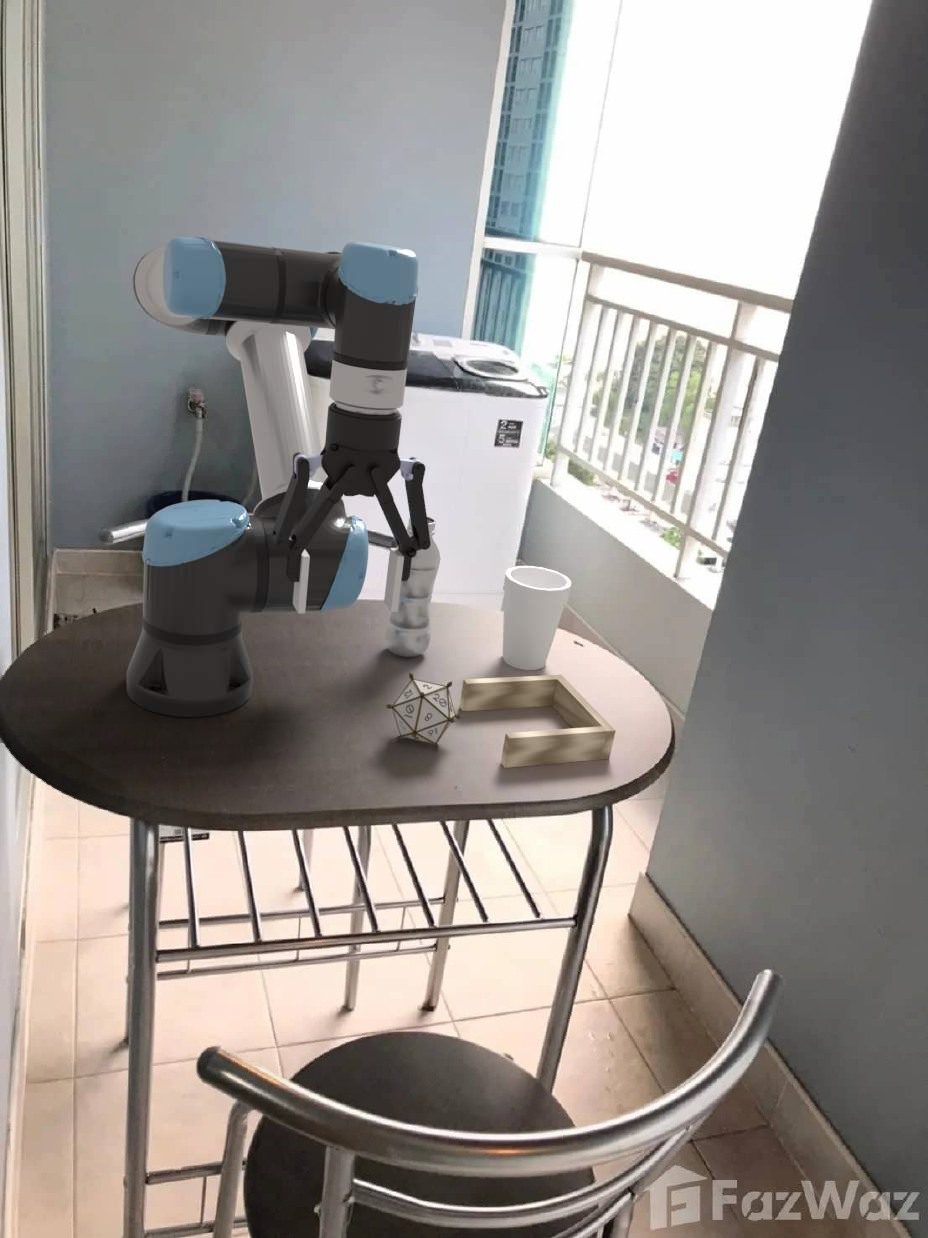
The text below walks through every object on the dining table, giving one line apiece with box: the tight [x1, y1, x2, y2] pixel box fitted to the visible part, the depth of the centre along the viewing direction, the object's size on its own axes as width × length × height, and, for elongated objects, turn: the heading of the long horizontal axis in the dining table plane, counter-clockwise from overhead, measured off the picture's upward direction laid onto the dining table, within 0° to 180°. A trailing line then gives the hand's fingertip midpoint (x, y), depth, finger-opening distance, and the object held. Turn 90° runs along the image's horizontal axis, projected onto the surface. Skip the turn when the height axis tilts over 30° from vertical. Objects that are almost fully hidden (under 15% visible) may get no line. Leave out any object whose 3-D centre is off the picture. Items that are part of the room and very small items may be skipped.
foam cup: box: [502, 565, 572, 671], centre depth 145 cm, size 10×9×13 cm
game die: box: [385, 672, 462, 751], centre depth 120 cm, size 9×8×10 cm
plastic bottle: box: [384, 516, 441, 658], centre depth 140 cm, size 6×7×20 cm
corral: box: [459, 674, 616, 769], centre depth 127 cm, size 14×15×4 cm
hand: (345, 607), depth 111 cm, fingers open, 10 cm apart
